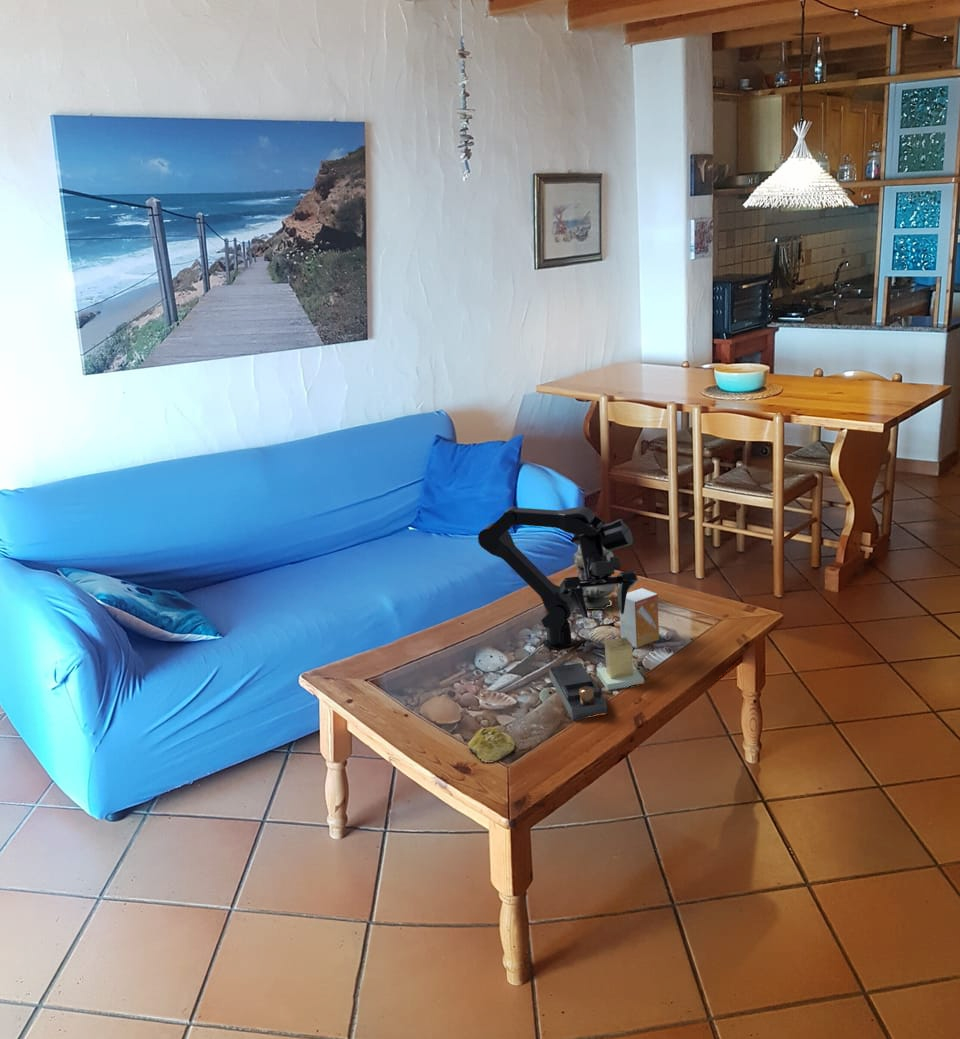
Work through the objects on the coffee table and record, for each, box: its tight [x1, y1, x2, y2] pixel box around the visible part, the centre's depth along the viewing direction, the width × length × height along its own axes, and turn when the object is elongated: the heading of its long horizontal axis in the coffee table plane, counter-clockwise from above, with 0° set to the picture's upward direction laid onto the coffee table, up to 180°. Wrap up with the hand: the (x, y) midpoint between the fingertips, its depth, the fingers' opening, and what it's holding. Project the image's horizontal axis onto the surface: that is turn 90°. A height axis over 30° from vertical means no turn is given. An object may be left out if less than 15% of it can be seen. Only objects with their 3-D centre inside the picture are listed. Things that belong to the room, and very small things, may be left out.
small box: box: [619, 587, 660, 649], centre depth 251 cm, size 8×6×13 cm
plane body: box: [548, 662, 608, 721], centre depth 225 cm, size 22×8×6 cm, turn 9°
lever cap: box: [603, 637, 634, 679], centre depth 231 cm, size 5×6×8 cm
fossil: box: [467, 726, 516, 762], centre depth 206 cm, size 11×6×10 cm
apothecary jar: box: [572, 544, 617, 610], centre depth 277 cm, size 12×12×18 cm
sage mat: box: [596, 664, 645, 691], centre depth 232 cm, size 9×9×2 cm
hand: (604, 615), depth 237 cm, fingers open, 9 cm apart
